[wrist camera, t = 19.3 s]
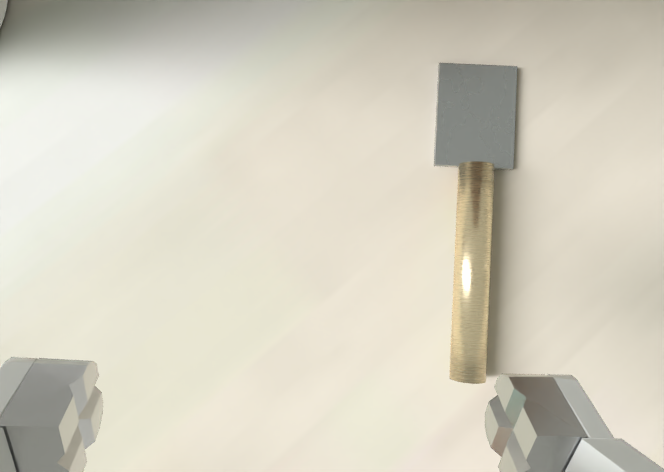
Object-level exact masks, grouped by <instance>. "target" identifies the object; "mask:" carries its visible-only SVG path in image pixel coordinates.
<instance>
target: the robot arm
mask: <svg viewBox="0 0 664 472" xmlns="http://www.w3.org/2000/svg"><path fill="white" fill-rule="evenodd" d="M7 3H8V0H0V27H1V25H2V22H3V20H4V16H5V13H6V8H7ZM98 376H99V373H98V369H97V364H96V363H95V362H93V361H83V360H65V359H47V358H39V359H37V358H20V357H11V358H10V359H8V360H7V361H5V362H4V363H3V364H2V366H1V367H0V472H83V471H84V468H85V466H86V463H87V459H86V454H85V449H86V448H87V447H88V446H90V445H91V444H92V443H93V442H95V440H96V437H97V434H98V431H99V429H100V424H101V419H102V414H103V398H102V392H101V391H100V390H99V389H98V388H97V387H95V383H96V381H97V379H98ZM494 387H495V390H496V392H497V394H498V395H497V396H496V397H494V398H493V399H492V400H490V401H489V403H488V406H487V409H486V412H485V430H486V435H487V438H488V441H489V444H490V447H491V448H492V449H493V450H494V451H495V452H496V453H498V454H499V455H500V456H501V460H500V463H499V465H498V468H499V471H500V472H664V469H663V468H662V467H660V466H659V465H657V464H656V463H655V462H653V461H652V460H650V459H649V458H648V457H646V456H645V455H643V454H642V453H641V452H639V451H638V450H636V449H635V448H634V447H632V446H631V445H629V444H628V443H627V442H625V441H624V440H622V439H615V438H614V437H613V435H612V434H611V432H610V431H609V429H608V427H607V426H606V424H605V423H604V421H603V420H602V418H601V416H600V415H599V413H598V412H597V410H596V409H595V407H594V405H593V404H592V402H591V401H590V399H589V398H588V396H587V394H586V393H585V391H584V390H583V388H582V386H581V385H580V383H579V382H578V380H577V379H576V378H575V377H573V376H572V375H545V374H501V375H500V376H499V377H498V378H497V381H496V384H495V386H494Z"/></svg>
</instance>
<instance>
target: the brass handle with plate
mask: <svg viewBox="0 0 664 472" xmlns="http://www.w3.org/2000/svg"><path fill="white" fill-rule="evenodd" d="M516 87H517V66H496V65H475V64H453V63H439V65H438V84H437V106H436V127H435V149H434V166H444V167H459V170H458V193H457V216H456V239H455V261H454V284H453V307H452V330H451V353H450V376H449V378H450V379H452V380H454V381H458V382H463V383H473V384H479V383H485V382H486V364H487V339H488V314H489V289H490V263H491V238H492V213H493V188H494V169H500V170H512V169H513V167H514V140H515V114H516Z"/></svg>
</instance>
